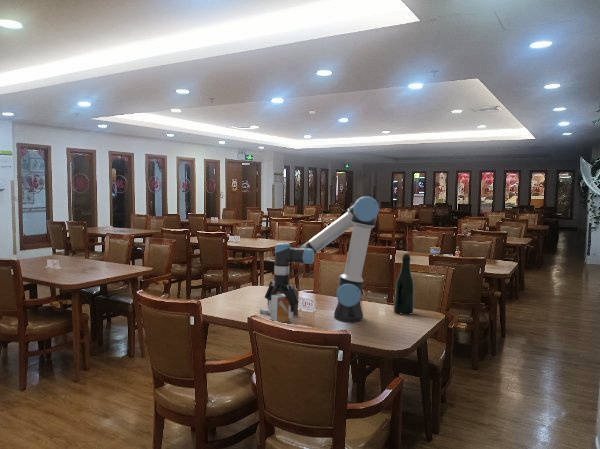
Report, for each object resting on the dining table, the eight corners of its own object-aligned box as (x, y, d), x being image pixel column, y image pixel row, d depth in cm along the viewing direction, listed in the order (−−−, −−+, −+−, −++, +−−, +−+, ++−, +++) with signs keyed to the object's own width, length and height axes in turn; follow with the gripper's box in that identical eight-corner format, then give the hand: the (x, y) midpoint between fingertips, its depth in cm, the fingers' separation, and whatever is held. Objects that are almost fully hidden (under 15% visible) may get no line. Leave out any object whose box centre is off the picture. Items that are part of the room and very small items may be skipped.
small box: (276, 323, 234) (277, 297, 233) (270, 320, 239) (271, 294, 238) (290, 321, 238) (291, 295, 237) (283, 318, 244) (284, 293, 243)
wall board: (297, 315, 250) (298, 289, 248) (284, 319, 241) (285, 292, 240) (269, 308, 262) (270, 283, 261) (256, 311, 254) (256, 286, 252)
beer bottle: (390, 312, 261) (393, 253, 258) (400, 309, 269) (403, 251, 266) (407, 316, 254) (410, 255, 251) (416, 313, 262) (419, 254, 259)
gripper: (305, 276, 232) (304, 318, 234) (268, 269, 247) (267, 309, 249) (296, 278, 226) (294, 321, 228) (258, 271, 242) (257, 311, 243)
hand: (280, 315), depth 238 cm, fingers open, 13 cm apart
